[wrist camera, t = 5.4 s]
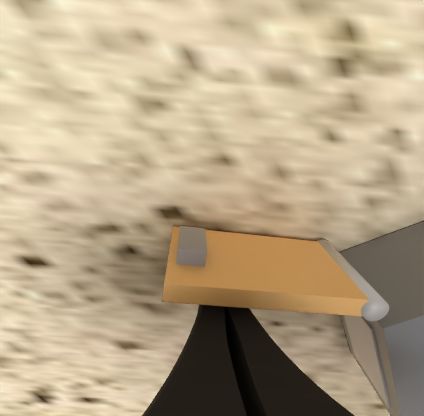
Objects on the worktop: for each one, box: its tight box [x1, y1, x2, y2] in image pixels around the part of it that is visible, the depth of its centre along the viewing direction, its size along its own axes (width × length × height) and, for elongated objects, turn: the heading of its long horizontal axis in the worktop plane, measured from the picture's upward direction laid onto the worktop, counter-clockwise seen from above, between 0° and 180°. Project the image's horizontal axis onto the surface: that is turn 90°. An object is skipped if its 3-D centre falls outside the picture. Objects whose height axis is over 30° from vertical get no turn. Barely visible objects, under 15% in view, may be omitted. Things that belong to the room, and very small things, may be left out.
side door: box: [162, 226, 389, 321], centre depth 11 cm, size 8×1×4 cm, turn 81°
